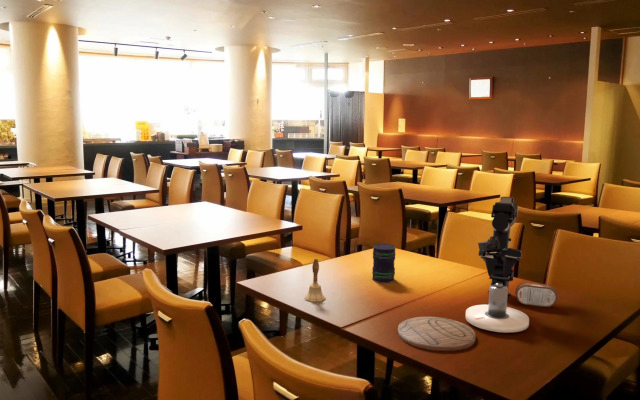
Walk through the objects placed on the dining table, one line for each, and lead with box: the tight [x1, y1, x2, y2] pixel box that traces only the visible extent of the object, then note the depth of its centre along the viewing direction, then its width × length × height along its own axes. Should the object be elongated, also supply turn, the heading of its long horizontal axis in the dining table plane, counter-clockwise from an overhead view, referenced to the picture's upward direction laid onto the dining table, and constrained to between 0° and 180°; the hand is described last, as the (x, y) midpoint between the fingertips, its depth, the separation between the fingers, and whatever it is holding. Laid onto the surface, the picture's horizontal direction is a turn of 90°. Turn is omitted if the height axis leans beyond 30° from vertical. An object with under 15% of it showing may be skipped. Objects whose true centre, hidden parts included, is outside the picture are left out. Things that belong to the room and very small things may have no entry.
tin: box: [515, 282, 558, 308], centre depth 203 cm, size 15×3×8 cm, turn 71°
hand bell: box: [304, 258, 326, 303], centre depth 207 cm, size 8×8×16 cm
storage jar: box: [371, 243, 396, 284], centre depth 233 cm, size 10×10×15 cm
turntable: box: [465, 304, 530, 333], centre depth 185 cm, size 21×21×2 cm
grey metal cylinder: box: [488, 283, 509, 318], centre depth 184 cm, size 6×6×11 cm
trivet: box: [397, 316, 476, 352], centre depth 174 cm, size 25×25×2 cm
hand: (497, 276), depth 198 cm, fingers open, 9 cm apart
